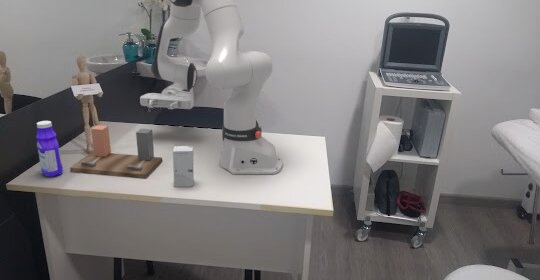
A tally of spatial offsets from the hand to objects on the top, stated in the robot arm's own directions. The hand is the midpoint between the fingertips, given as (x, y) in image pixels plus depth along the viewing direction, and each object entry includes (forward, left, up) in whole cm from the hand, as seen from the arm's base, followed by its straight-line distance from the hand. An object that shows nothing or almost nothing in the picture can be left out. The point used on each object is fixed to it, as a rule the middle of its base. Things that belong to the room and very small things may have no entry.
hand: (159, 106), depth 151 cm
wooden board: (+8, +20, -16) cm, 27 cm away
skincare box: (-18, +28, -16) cm, 37 cm away
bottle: (+26, +29, -16) cm, 42 cm away
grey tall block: (0, +15, -14) cm, 21 cm away
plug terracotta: (+16, +15, -14) cm, 26 cm away
